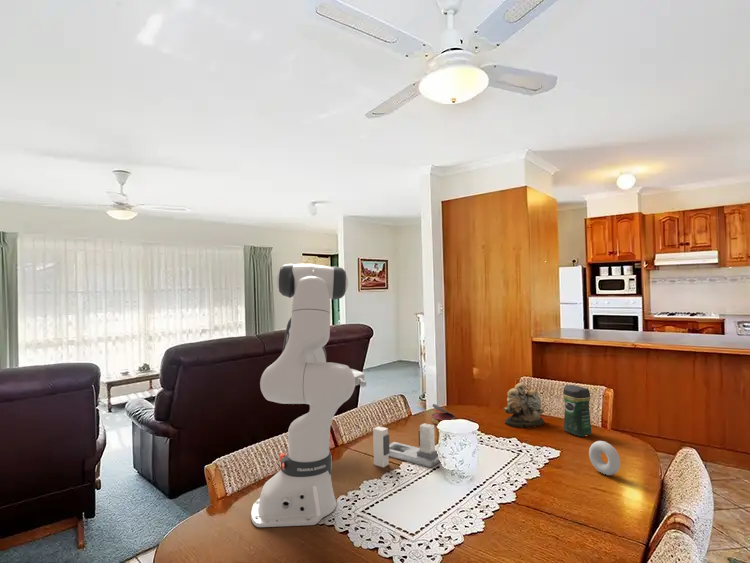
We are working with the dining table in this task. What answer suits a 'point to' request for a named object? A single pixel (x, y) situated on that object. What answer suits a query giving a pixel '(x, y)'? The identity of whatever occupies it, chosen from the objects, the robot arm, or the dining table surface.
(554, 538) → the dining table surface
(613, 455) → the donut
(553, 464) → the dining table surface
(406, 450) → the steel rail
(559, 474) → the dining table surface
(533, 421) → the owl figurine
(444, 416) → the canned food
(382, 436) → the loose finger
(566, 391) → the coffee jar
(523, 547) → the dining table surface
